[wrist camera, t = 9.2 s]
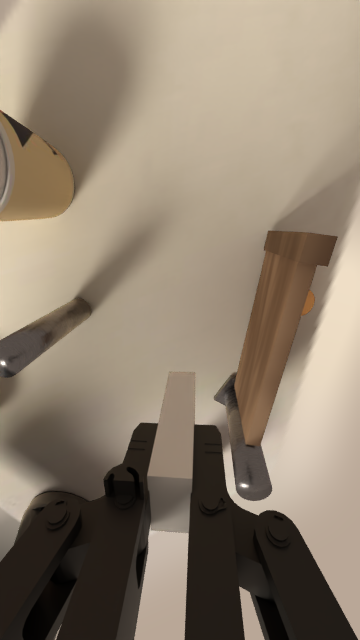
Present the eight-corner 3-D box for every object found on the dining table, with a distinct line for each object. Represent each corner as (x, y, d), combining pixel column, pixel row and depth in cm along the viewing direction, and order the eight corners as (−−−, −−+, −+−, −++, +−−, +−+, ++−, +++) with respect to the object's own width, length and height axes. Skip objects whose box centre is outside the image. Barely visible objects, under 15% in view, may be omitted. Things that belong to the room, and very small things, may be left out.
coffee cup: (87, 146, 27) (4, 88, 16) (76, 235, 30) (1, 239, 19) (3, 120, 27) (-143, 43, 15) (1, 212, 30) (-120, 203, 19)
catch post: (283, 304, 31) (300, 321, 25) (262, 292, 31) (276, 307, 25) (299, 284, 30) (321, 297, 24) (278, 271, 30) (295, 281, 24)
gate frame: (239, 410, 37) (259, 511, 24) (64, 316, 34) (-22, 372, 21) (257, 389, 35) (289, 484, 22) (75, 289, 33) (-10, 331, 19)
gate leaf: (231, 384, 34) (244, 452, 24) (268, 230, 27) (307, 232, 17) (246, 387, 34) (265, 455, 24) (286, 233, 27) (337, 236, 17)
